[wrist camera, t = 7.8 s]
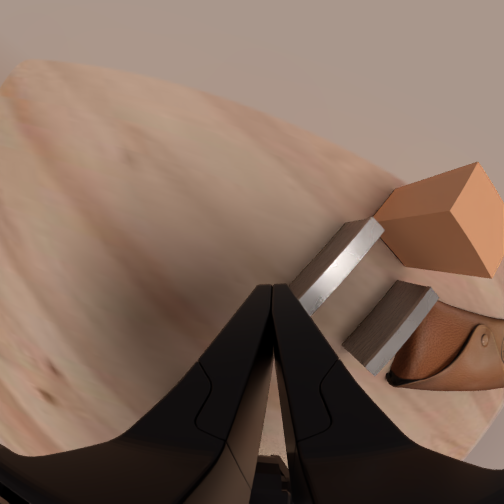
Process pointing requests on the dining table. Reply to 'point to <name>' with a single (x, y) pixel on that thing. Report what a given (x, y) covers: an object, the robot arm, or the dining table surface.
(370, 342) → the silver twin-wall channel
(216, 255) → the dining table surface
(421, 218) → the block
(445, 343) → the sunglasses case
